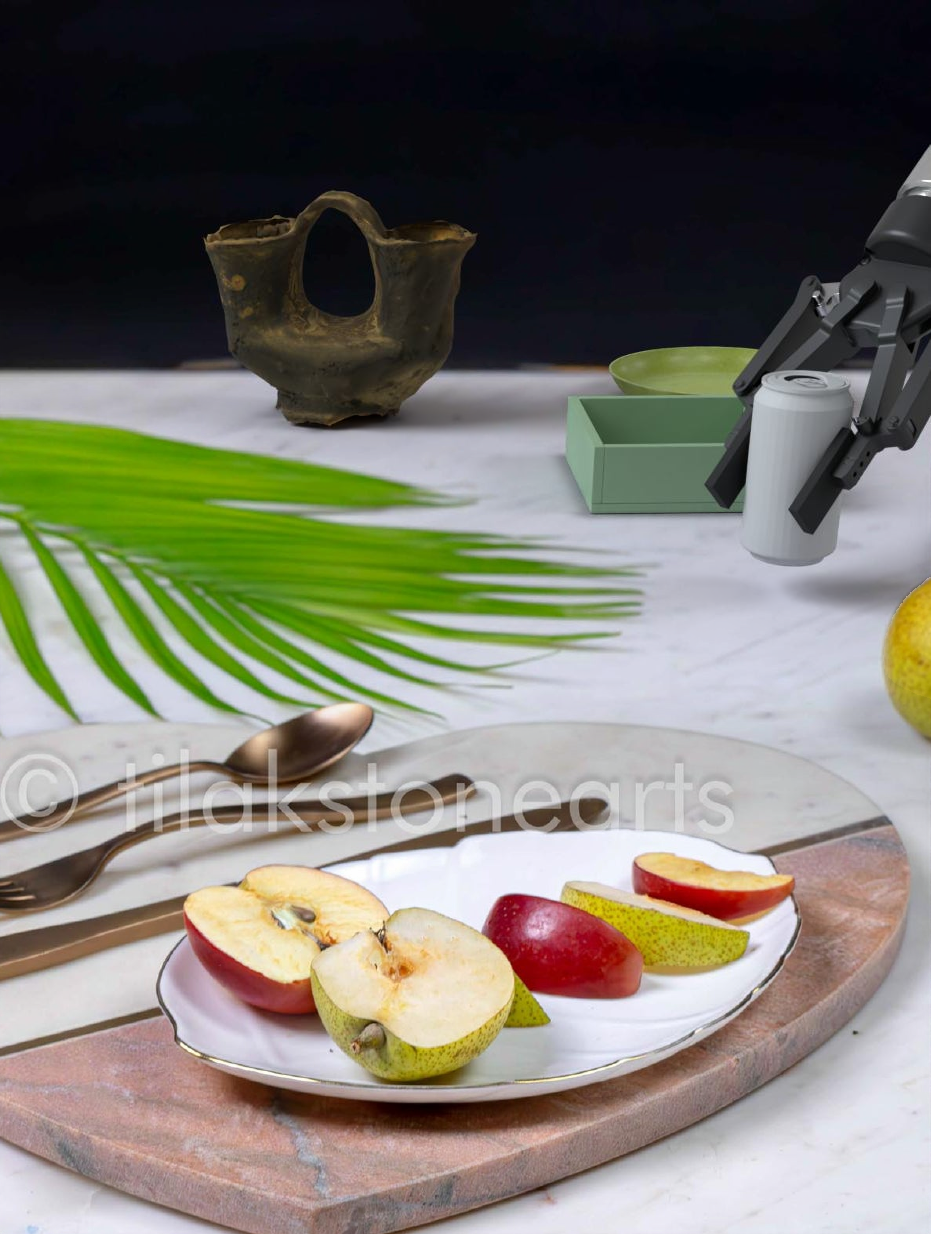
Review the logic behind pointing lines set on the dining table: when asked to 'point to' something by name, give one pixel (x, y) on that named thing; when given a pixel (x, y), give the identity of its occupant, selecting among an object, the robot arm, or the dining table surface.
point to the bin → (649, 451)
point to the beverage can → (791, 463)
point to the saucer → (681, 371)
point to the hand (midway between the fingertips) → (757, 508)
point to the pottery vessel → (331, 345)
